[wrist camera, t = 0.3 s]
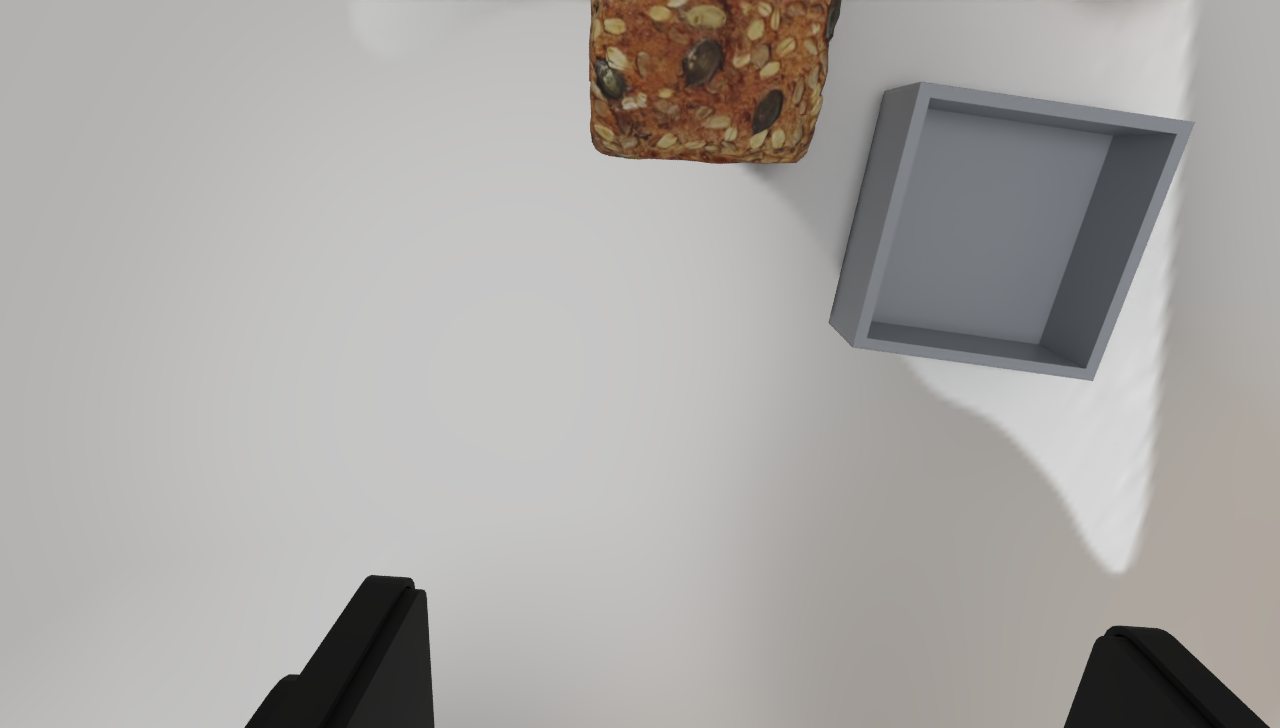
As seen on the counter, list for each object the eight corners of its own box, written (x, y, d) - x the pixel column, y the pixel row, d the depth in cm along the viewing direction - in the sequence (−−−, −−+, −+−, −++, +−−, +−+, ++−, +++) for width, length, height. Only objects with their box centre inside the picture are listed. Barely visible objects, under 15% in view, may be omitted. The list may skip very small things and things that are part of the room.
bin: (884, 90, 34) (921, 82, 29) (1120, 125, 34) (1194, 122, 30) (828, 322, 38) (852, 347, 34) (1039, 352, 38) (1092, 380, 34)
